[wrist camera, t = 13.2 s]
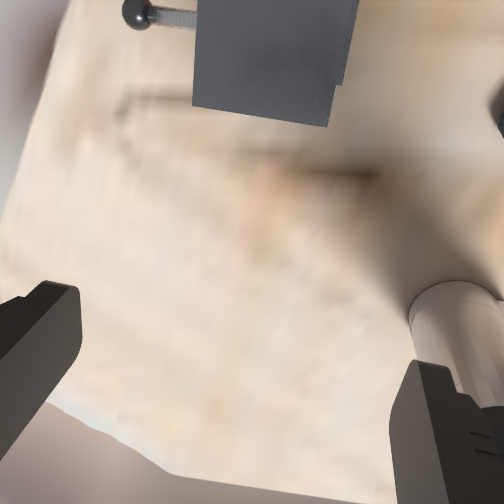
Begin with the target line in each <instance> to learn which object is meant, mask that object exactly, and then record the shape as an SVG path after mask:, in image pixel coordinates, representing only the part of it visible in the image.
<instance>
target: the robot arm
mask: <svg viewBox="0 0 504 504" xmlns="http://www.w3.org/2000/svg"><path fill="white" fill-rule="evenodd" d="M409 325H410V331H411V336H412V338H413V343H414V348H415V352H416V356H417V360H412V361H411V363H410V364H409V366H408V369H407V371H406V374H405V376H404V379H403V381H402V384H401V386H400V389H399V391H398V394H397V396H396V399H395V401H394V404H393V406H392V410H391V414H390V422H389V435H390V444H391V452H392V461H393V469H394V477H395V486H396V494H397V503H398V504H504V301H500V300H497V299H495V298H494V297H493V296H492V295H491V294H490V293H489V292H488V291H487V290H485V289H484V288H482V287H481V286H479V285H476V284H474V283H470V282H465V281H450V282H443V283H440V284H437V285H434V286H432V287H430V288H428V289H427V290H425V291H424V292H423V293H421V294H420V295H419V296H418V297H417V298H416V299H415V301H414V302H413V304H412V306H411V308H410V312H409ZM81 344H82V321H81V305H80V293H79V290H78V288H77V287H75V286H71V285H66V284H61V283H57V282H52V281H47V280H46V281H43V282H41V283H40V284H39V285H38V286H37V287H35V288H34V289H33V290H32V291H31V292H30V293H29V294H28V295H27V296H26V297H20V296H17V297H15V298H13V299H11V300H9V301H7V302H5V303H3V304H1V305H0V461H1V459H2V458H3V456H4V455H5V454H6V453H7V451H8V450H9V448H10V447H11V446H12V444H13V443H14V442H15V440H16V439H17V438H18V436H19V435H20V434H21V432H22V431H23V429H24V428H25V427H26V426H27V424H28V423H29V421H30V420H31V419H32V418H33V416H34V415H35V414H36V412H37V411H38V410H39V408H40V407H41V406H42V404H43V403H44V401H45V400H46V399H47V397H48V396H49V395H50V393H51V392H52V391H53V389H54V388H55V387H56V385H57V384H58V383H59V381H60V380H61V379H62V377H63V376H64V375H65V373H66V372H67V371H68V369H69V368H70V367H71V365H72V364H73V363H74V361H75V359H76V358H77V356H78V353H79V351H80V348H81Z"/></svg>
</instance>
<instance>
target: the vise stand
mask: <svg viewBox="0 0 504 504" xmlns="http://www.w3.org/2000/svg"><path fill="white" fill-rule="evenodd" d="M358 3H359V0H198V5H197V11H191V10H184V9H177V8H170V7H163V6H156V5H152V4H151V2H150V1H149V0H125V1H124V3H123V5H122V16H123V19H124V21H125V22H126V24H127V25H128V26H129V27H131V28H132V29H135V30H140V31H141V30H145V29H147V28H149V27H150V26H151V25H159V26H166V27H172V28H179V29H186V30H193V31H196V43H195V61H194V80H193V99H192V106H196V107H202V108H209V109H215V110H221V111H227V112H234V113H240V114H246V115H252V116H258V117H265V118H271V119H277V120H283V121H290V122H296V123H302V124H308V125H314V126H321V127H327V126H328V121H329V116H330V111H331V106H332V101H333V96H334V91H335V86H336V85H341V86H342V81H343V76H344V71H345V66H346V61H347V57H348V52H349V47H350V42H351V37H352V32H353V28H354V23H355V18H356V13H357V8H358Z"/></svg>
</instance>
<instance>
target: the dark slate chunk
mask: <svg viewBox="0 0 504 504" xmlns="http://www.w3.org/2000/svg"><path fill="white" fill-rule="evenodd" d="M498 129H499V131H500V132H501V134H502V136H503V138H504V111H503V113H502V116H501V118H500V120H499V123H498Z"/></svg>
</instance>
